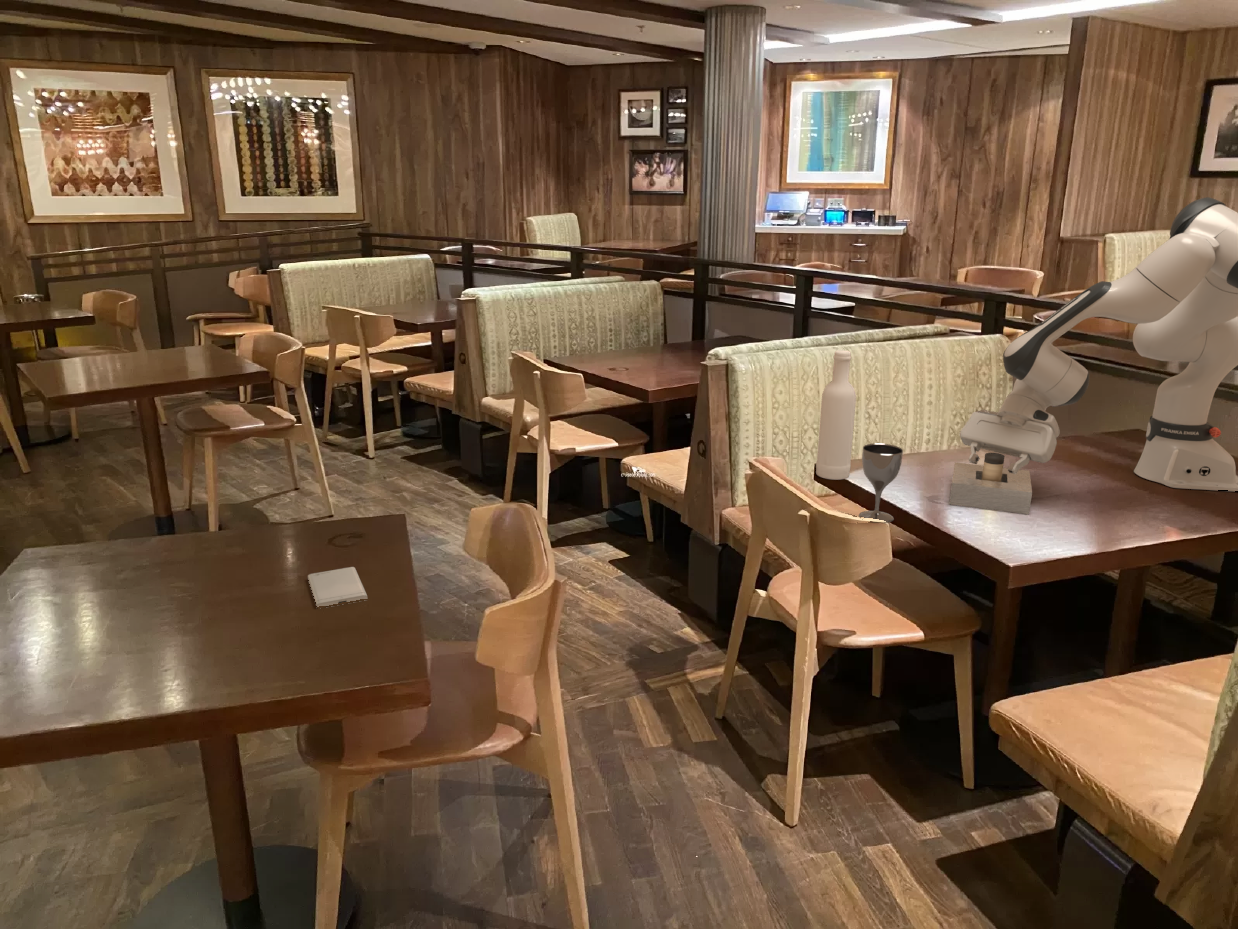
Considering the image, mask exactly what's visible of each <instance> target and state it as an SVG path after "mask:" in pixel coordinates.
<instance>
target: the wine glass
mask: <svg viewBox="0 0 1238 929" xmlns="http://www.w3.org/2000/svg"><path fill="white" fill-rule="evenodd" d="M903 454H904V450H903V448H902V447H900V446H897V445H894V444H889V443H877V442H876V443H868V444H865V445H863V447H862V454H861V455H862V458H861V459H862V461H861V462H862V469H863V470H862V471H863V473H864V475H865V477H866V478H867V480H868V482H870V484H871V485H872V487H873V489H874V492H875V493H874V494H875V503H874V504H875V505H874V510H865V511H862V512H860V513H859V514H858V517H859V518H860V517H864V518H873V519H879V520H884V521H886V522H888V523H891V522H893V521H894V520H895V518H894V516H893V515H892V514H889V513H887V512H884V511H880V502H881V497H882V493H883V491H884V489H886V487H887V486H888V485H890V483H892V482H893V481H894V480H895V479H896V478H897V476H898V474H899V472H900V469H901V466H902V461H903Z"/></svg>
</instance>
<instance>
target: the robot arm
mask: <svg viewBox="0 0 1238 929" xmlns="http://www.w3.org/2000/svg"><path fill="white" fill-rule="evenodd" d="M1095 317H1096V318H1099V317H1100V318H1107V319H1111V320H1112V319H1113V320H1117V321H1120V322H1125V323H1127V324H1135V325H1136V324H1137V325H1136V326H1135V328H1134V330H1133V335H1132V344H1133V347H1134V348H1135V351H1136V352H1137V353H1138V355H1139V356H1141V357H1142V358H1148V359H1152V360H1156V361H1161V362H1180V363H1181V362H1182V363H1183V362H1185V363H1188V365H1187V366H1186V368H1184V369H1183V371H1181V372H1180V373H1179V374H1175V375H1174V376H1171V377H1168V378H1166V379H1165V380H1163V381H1162V383H1161V384H1160V385H1159V386H1158V387H1157V391H1156V396H1155V400H1154V401H1155V402H1154V405H1153V406H1154V407H1153V411H1152V415H1151V416H1150V417H1149V420H1148V422H1147V428H1146V433H1145V439H1146V441H1145V444H1144V448H1143V450H1142V453H1141V455H1140V458H1139V460H1138V462H1137V464H1136V466H1135V468H1134V469H1133V473H1134V474H1136V475H1137V476H1139V477H1140V478H1143V479H1146V480H1149V481H1152V482H1156V483H1159V484H1162V485H1165V486H1167V487H1170V488H1173V489H1187V490H1188V489H1189V490H1190V489H1191V490H1205V491H1206V490H1207V491H1218V490H1228V491H1227V492H1235V491H1238V475H1237V474H1236V469H1237V468H1236V462H1235V458H1234V457H1233V456H1232V455H1231V454H1230V453H1229V452H1228V451H1227V450H1226V449H1225V448H1224V447H1222V445H1220V444H1219V443H1218V442H1217V441H1216V440H1215V439H1213V438H1219V436H1221V435H1222V431H1221V430H1220V429H1219V428H1218V427H1216V426H1214V425H1213V424H1211V423H1209V422H1208V416H1209V414H1210V409H1211V406H1212V401H1213V398H1214V396H1215V392H1216V391H1217V388H1218V387H1219V385H1220V384H1221V382H1222V381H1223V380H1224V378H1226V376H1227V375H1228V374H1229V373H1230V372H1231V371H1232V370H1233V369H1234V368H1236V367H1238V212H1237V211H1236V210H1234V209H1232V208H1230V207H1228V206H1226V203H1224V202H1223V201H1220V200H1218V199H1216V198H1213V197H1209V196H1207V197H1203V198H1202V197H1201V198H1199V199H1195V200H1194V201H1191V202H1190V203H1188V204H1187V205H1186V206H1185V207H1183V208H1182V209H1181V210H1180V211H1179V212H1178V214H1177V215H1176V216H1175V218H1174V219H1173V221H1172V223H1171V226H1170V230H1169V239H1168V240H1166V241H1165V242H1164V243H1162V244H1161V245H1160V246H1158V247H1157V248H1156V249H1154V250H1153V251H1152V252H1151V253H1150V254H1148V255H1147V256H1146V257H1145V258H1144V259H1142V260H1141V262H1140V263H1139V264H1137V265H1136V266H1135V268H1133V269H1132V270H1131V271H1129V272H1128V273H1127V274H1125V275H1123V276H1122V277H1120V278H1117V279H1115V280H1112V281H1098V282H1097V283H1095V284H1093V285H1091V286H1090V287H1088V288H1086V289H1085V290H1083V291H1082V292H1081V293H1079V294H1078V295H1076V296H1074V297H1073V298H1072V299H1070V300H1069V301H1068V302H1067V303H1066V304H1065V303H1064V305H1062V306H1060V307H1059V309H1057V310H1056V311H1054V312H1053V313H1052V314H1050V315H1049V316H1048V317H1047V318H1045V319H1044V320H1042V321H1041V322H1040V323H1039V324H1037V325H1035V326H1034V327H1033V328H1031V329H1029V330H1027V331H1025V332H1024V333H1022V334H1021V335H1019V336H1018V337H1016V338H1015V339H1014V340H1013V341H1011V342H1010V344H1009V345H1008V346H1006V349H1005V350H1004V352H1003V356H1002V360H1003V365H1004V366H1003V367H1004V370H1005V373H1006V374H1009V375H1010V376H1012V377H1013V378H1015V379H1016V380H1014V383H1013V387H1012V390H1011V392H1010V393H1009V394H1008V395H1007V396H1006V398H1004V401H1003V403H1002V405H1001V406H1000V408H999V410H998V412H997V411H990V410H987V409H980V410H977V411H973V412H972V413H971V415H970V417H969V418H968V420H967V421H966V422H965V424H964V426H963V427H962V428H961V430H960V431H959V438H960V440H961V442H962V444H963V445H964V446H969V447H970V453H971V454H970V455H969V457H968V462H969V464H974V465H978V462H979V461H980V460H981V458H980V456H979V455H978V453H977V452H980V450H984V451H985V450H986V451H988V452H989V451H990V452H993V453H998V454H1002V455H1007V456H1011V457H1015V458H1020V459H1018V460H1017V461H1016V462H1010V464H1009V466H1008V467H1007V468H1008V471H1009V473H1013V474H1017V472H1018V470H1021V469H1022V468H1024V467H1025V466H1026V465H1028V464H1029V462H1030V461H1032V462H1036V463H1040V464H1045V463H1047V462H1049V461H1050V460H1051V459H1052V457H1053V455H1054V453H1055V450H1056V448H1057V443H1058V442H1057V441H1058V440H1057V438H1058V437H1059V435H1060V433H1061V431H1060V427H1059V425H1058V422H1057V420H1056V418H1055V416H1054V415H1053V414H1051V413H1049V412H1047V411H1046V410H1047V408H1048V407H1050V406H1052V407H1053V408H1054V407H1055V408H1056V407H1064V406H1069V405H1073V404H1075V403H1077V402H1079V401H1080V400H1081V399H1082V397H1083V396H1084V394H1085V393H1086V391H1087V390H1088V387H1089V383H1090V373H1089V372H1090V371H1089V370H1088V369H1086V367H1085V366H1083V365H1082V364H1081V363H1080V362H1078V361H1077V360H1075V359H1074V358H1073V357H1070V356H1069V355H1067V354H1066V353H1065V352H1063V351H1062V350H1060V349H1059V348H1058V347H1056V346H1055V345H1053V344H1052V343H1053V342H1055V341H1056V340H1057V339H1059V338H1060V337H1062V335H1064V334H1066V333H1067V332H1068V331H1070V330H1071V329H1072V328H1074V327H1075V326H1077V325H1078V324H1079V323H1081V322H1082V321H1084V320H1086V319H1089V318H1095Z"/></svg>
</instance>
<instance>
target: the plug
mask: <svg viewBox="0 0 1238 929" xmlns="http://www.w3.org/2000/svg"><path fill="white" fill-rule="evenodd" d="M1004 463H1005V454H1002V453H998V452H987V453H984V458H983V473H982V480H987V481H996V482H1001V478H1002V471H1003V468H1004Z"/></svg>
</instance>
